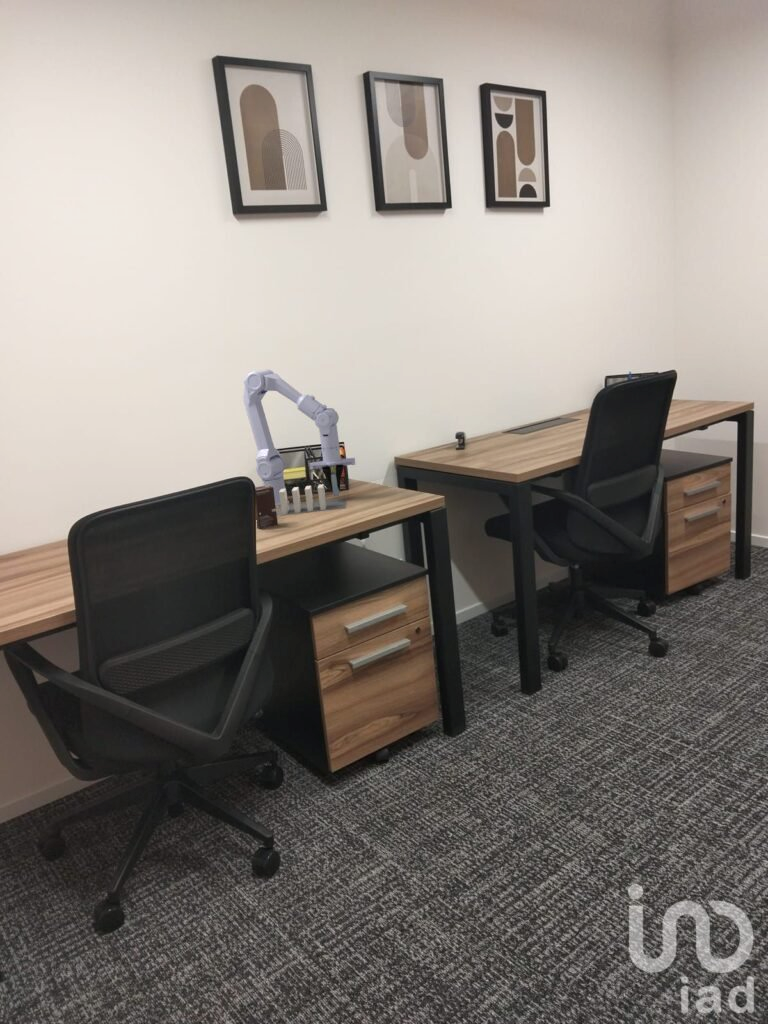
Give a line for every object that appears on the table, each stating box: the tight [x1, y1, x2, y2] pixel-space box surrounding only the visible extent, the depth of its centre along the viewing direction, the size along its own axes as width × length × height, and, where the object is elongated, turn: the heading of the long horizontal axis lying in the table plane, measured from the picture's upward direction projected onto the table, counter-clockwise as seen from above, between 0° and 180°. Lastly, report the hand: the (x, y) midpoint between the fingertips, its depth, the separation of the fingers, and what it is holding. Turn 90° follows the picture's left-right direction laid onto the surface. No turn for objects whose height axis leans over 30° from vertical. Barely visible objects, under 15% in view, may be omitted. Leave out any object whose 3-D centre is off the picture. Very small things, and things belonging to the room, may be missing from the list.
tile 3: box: [304, 485, 314, 511], centre depth 230 cm, size 2×5×7 cm, turn 1°
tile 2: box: [291, 486, 302, 513], centre depth 230 cm, size 2×5×7 cm, turn 1°
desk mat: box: [276, 497, 348, 517], centre depth 234 cm, size 22×15×1 cm
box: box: [255, 485, 279, 530], centre depth 215 cm, size 6×4×12 cm
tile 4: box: [317, 483, 327, 510], centre depth 230 cm, size 2×5×7 cm, turn 1°
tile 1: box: [279, 487, 289, 514], centre depth 230 cm, size 2×5×7 cm, turn 1°
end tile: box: [331, 471, 340, 497], centre depth 237 cm, size 2×5×7 cm, turn 1°
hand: (335, 488), depth 238 cm, fingers closed on end tile, 1 cm apart
